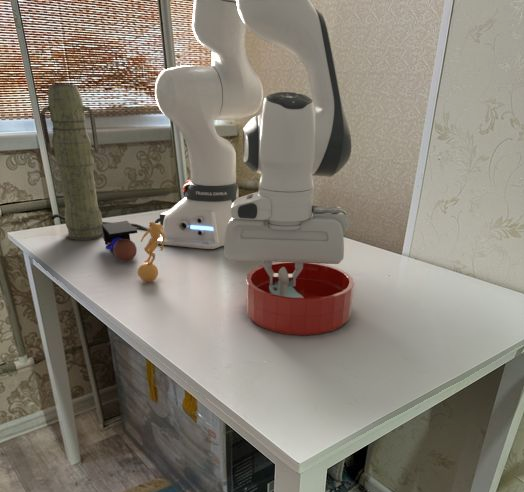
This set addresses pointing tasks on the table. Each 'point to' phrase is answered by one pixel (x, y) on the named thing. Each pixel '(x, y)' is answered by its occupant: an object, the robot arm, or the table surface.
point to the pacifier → (284, 286)
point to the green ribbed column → (74, 159)
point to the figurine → (148, 269)
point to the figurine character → (119, 239)
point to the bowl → (301, 299)
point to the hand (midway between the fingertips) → (282, 284)
